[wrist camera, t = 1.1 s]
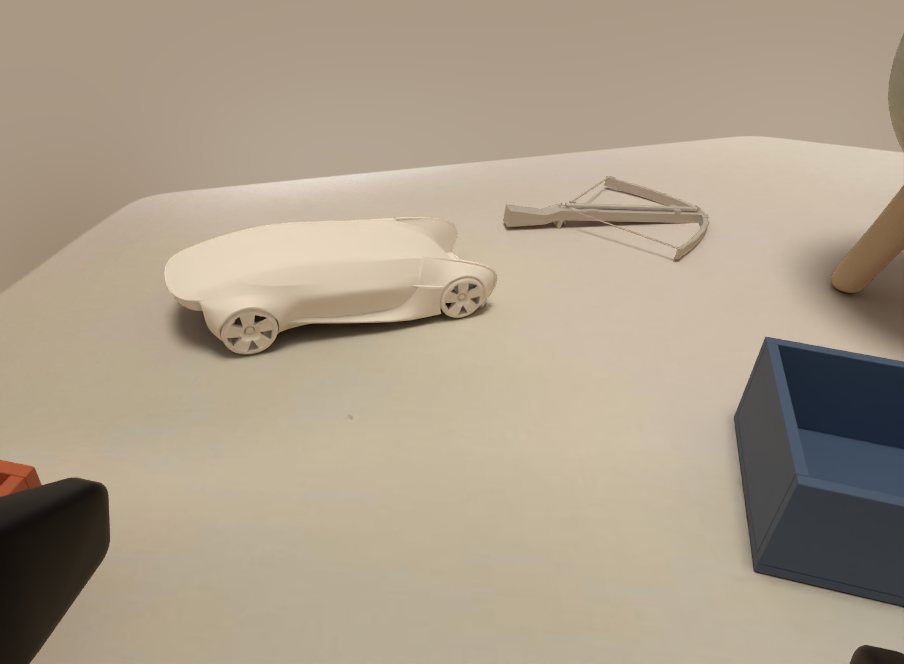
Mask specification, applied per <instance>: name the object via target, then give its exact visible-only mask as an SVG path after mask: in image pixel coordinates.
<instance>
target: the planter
mask: <svg viewBox="0 0 904 664" xmlns="http://www.w3.org/2000/svg"><path fill="white" fill-rule="evenodd" d="M888 101H889V110H890V116H891V121H892V125H893V128H894V131H895V134H896V137H897V139H898V142H899V144H900V146H901V148H902V150H903V152H904V34H903V36H902V39H901V41H900V44H899V46H898V49H897V52H896V55H895V58H894V61H893V65H892V69H891V75H890V80H889V92H888ZM903 249H904V185H903V187H902V188H901V189H900V191H899V192H898V193H897V194H896V196H895V197H894V198H893V199H892V201H891V202H890V203H889V204H888V206H887V207H886V208H885V209H884V211H883V212H882V213H881V214H880V216H879V217H878V218H877V219H876V221H875V222H874V223H873V224H872V226H871V227H870V228H869V229H868V230H867V232H866V233H865V234H864V235H863V236H862V238H861V239H860V240H859V241H858V242H857V243H856V245H855V246H854V247H853V248H852V249H851V251H850V252H849V253H848V254H847V255H846V256H845V258H844V259H843V260H842V261H841V263H840V264H839V266H838V267H837V268H836V270H835V271H834V273H833V274H832V276H831V282H832V284H833V285H834V287H835V288H837V289H838V290H840V291H843V292H847V293H856V292H859V291H861V290H863V289H864V288H865V287H866V286H867V285H868V284H869V283H870V282H871V281H872V280H873V279H874V277H875V276H876V275H877V274H879V273H880V272H881V271H882V270H883V269H884V268H885V267H886V266H887V265H888V264H889V263H890V262H891V261H892V260H893V259H894V258H895V257H896V256H897V255H898V254H899V253H900V252H901V251H902V250H903Z"/></svg>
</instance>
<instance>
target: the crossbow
mask: <svg viewBox="0 0 904 664" xmlns="http://www.w3.org/2000/svg"><path fill="white" fill-rule="evenodd" d="M605 180H606V181H605ZM604 181H605V184H604V185H605V186H607V187H610V188H614V189H617V190H621V191H624V192H628V193H631V194H634V195H637V196H640V197H644V198H647V199H650V200H653V201H656V202H658V203H661V204H664V205H666V206H647V205H615V204H582V203H576V202H573V201H575V200H576V199H578V198H579V197H581V196H582V195H584V194H585V193H587V192H588V191H590V190H591V189H593V188H595V187H596V186H598V185H599V184H601V183H602V182H604ZM708 218H709V217H708V215H706V214H705V213H704V212H703V211H702V210H701V209H700V208H699V207H697V206H694V205H692V204H689V203H687V202H685V201H683V200H680V199H677V198H675V197H672V196H669V195H666V194H664V193H661V192H658V191H654V190H651V189H648V188H645V187H642V186H639V185H636V184H632V183H628V182H625V181H621V180H618V179H615V178H614V177H611V176H607V177H606V179H604V180H603V181H601V182H600V183H598V184H597V185H595V186H594V187H592V188H590V189H589V190H587V191H586V192H584V193H583V194H581V195H580V196H578V197H577V198H575V199H574V200H572V201H569V203H565V205H562V203H561V204H560V205H557V204H556V205H553V206H549V207H546V208H542V209H538V208H530V207H523V206H515V205H507V204H506V208H505V214H504V219H503V221H504V222H505V224H506V226H507V227H515V226H529V225H543V224H547V223H551V222H553V223H554V225H555V226H556V227H557V229H559V228H561V226H562V223H564V225H565V224H566V220H581V221H601V222H603V223H606V224H609V225H612V226H615V227H617V228H620V229H623V230H626V231H629V232H631V233H634V234H637V235H640V236H643V237H645V238H648V239H651V240H654V241H657V242H659V243H662V244H665V245H668V246H671V247H673V248H676V249H678V250H677V252H676V255H675V258H674V259H680V258H681V257H682V256H683V255H685V254H686V253H687V252H689V251H690V250H692V249H693V248H694V247H695V246H696V245H697V244H698V243H699V242H700V241H701V239H702V238H703V236H704V234H705V232H706V229H707V227H708V224H709V220H708ZM605 221H621V222H662V223H699V226H700V230H699V231H698V232H697V233H696V234H695V235H694V236H693V237H692V238H691V239H690V240H689V241H688V242H686V243H685V244H683V245H682V246H680V247H675V246H672V245H669V244H666V243H664V242H661V241H658V240H655V239H652V238H649V237H647V236H644V235H641V234H638V233H635V232H633V231H630V230H627V229H624V228H621V227H619V226H616V225H613V224H610V223H607V222H605Z"/></svg>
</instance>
